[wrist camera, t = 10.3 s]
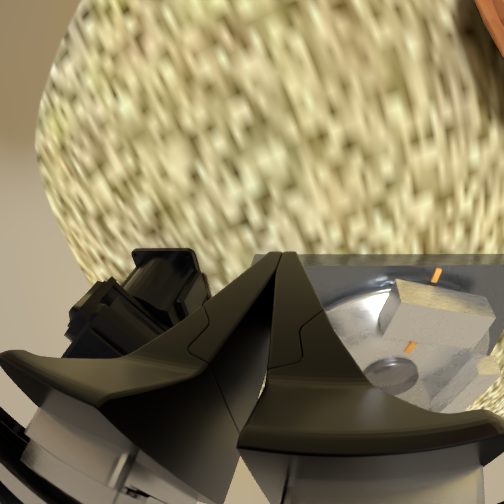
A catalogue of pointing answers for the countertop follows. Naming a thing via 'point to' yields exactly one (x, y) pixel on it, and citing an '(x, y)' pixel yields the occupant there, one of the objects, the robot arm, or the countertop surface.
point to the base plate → (409, 277)
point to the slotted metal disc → (420, 342)
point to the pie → (493, 20)
